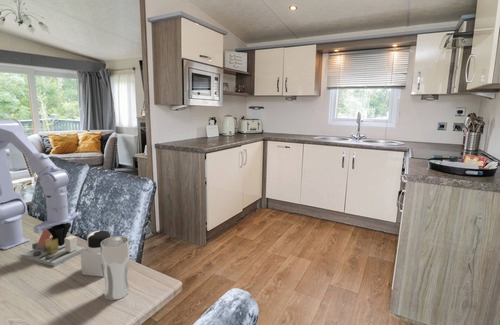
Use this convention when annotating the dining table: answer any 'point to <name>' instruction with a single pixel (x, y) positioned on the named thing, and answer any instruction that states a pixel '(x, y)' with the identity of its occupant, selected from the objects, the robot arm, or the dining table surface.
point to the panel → (51, 255)
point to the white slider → (70, 243)
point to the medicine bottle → (93, 254)
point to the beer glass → (115, 266)
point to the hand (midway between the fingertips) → (60, 244)
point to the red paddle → (43, 239)
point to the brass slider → (51, 245)
